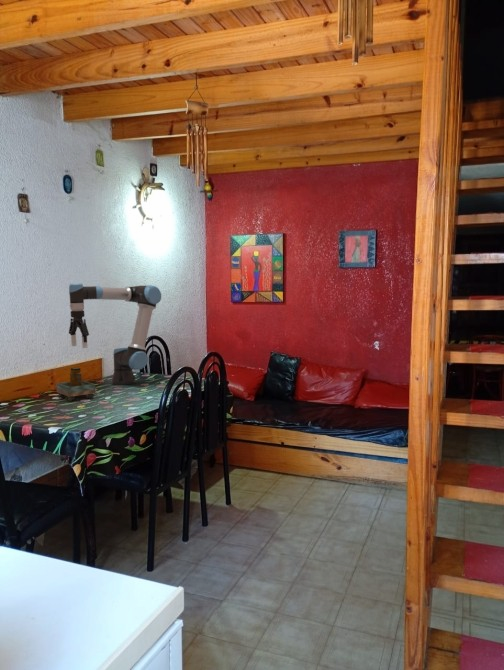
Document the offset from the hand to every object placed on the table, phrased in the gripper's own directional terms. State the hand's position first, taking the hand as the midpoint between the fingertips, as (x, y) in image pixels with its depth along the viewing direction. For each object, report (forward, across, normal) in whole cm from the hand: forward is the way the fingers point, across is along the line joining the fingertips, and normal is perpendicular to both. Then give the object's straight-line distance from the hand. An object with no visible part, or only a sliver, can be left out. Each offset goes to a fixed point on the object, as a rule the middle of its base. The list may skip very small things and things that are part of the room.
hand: (79, 347), depth 307 cm
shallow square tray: (+27, +9, -8) cm, 30 cm away
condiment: (+22, +10, -8) cm, 26 cm away
